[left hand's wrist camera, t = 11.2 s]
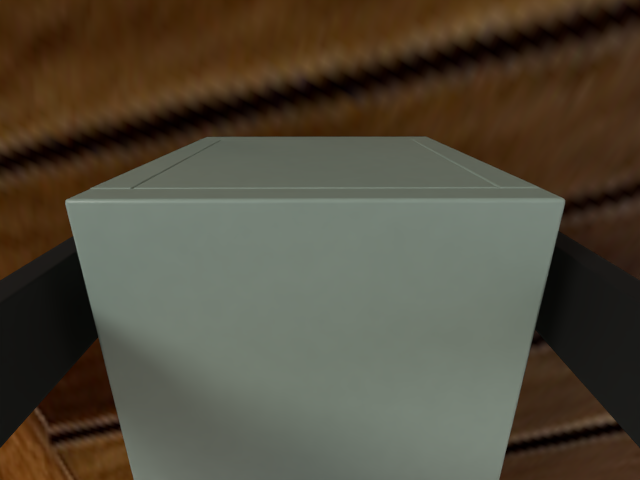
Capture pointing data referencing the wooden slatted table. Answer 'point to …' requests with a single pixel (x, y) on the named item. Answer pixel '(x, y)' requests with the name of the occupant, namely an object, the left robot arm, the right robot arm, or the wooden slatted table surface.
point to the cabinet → (315, 307)
